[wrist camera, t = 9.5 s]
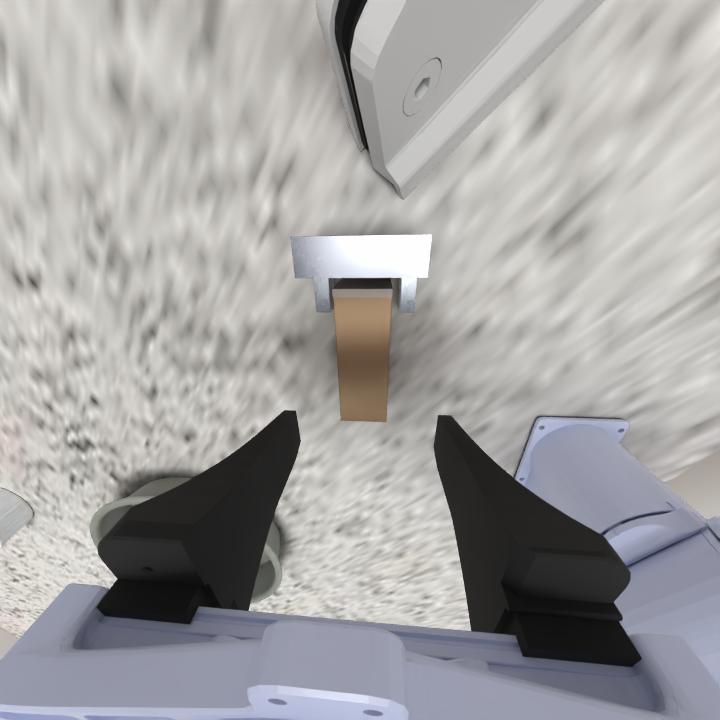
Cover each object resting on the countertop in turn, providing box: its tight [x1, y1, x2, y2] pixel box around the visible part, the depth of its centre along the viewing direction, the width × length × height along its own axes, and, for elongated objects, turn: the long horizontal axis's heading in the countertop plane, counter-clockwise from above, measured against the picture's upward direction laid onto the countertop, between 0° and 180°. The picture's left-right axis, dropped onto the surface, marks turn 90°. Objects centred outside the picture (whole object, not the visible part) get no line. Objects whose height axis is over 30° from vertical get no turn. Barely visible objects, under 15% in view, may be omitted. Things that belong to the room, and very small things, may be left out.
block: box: [332, 278, 393, 422], centre depth 20 cm, size 10×4×5 cm, turn 1°
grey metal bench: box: [290, 235, 432, 313], centre depth 17 cm, size 5×7×6 cm
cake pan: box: [90, 477, 282, 604], centre depth 35 cm, size 25×25×4 cm
